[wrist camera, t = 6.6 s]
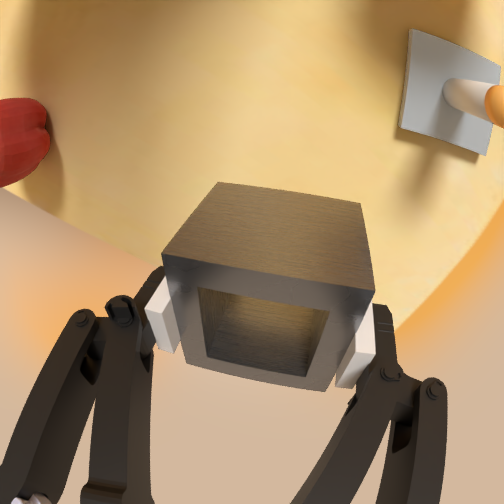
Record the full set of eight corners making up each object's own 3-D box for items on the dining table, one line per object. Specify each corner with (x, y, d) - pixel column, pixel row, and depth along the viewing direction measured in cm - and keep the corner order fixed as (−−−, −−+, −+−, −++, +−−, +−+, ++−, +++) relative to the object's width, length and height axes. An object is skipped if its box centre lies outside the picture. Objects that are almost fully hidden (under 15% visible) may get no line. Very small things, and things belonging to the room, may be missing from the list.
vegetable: (14, 150, 28) (-40, 181, 20) (19, 80, 21) (-44, 103, 13) (59, 177, 29) (-1, 219, 21) (68, 98, 22) (-7, 126, 14)
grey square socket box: (221, 285, 18) (186, 363, 14) (217, 181, 14) (161, 253, 9) (331, 305, 17) (324, 392, 13) (360, 203, 13) (375, 291, 8)
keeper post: (397, 125, 18) (435, 156, 12) (409, 30, 14) (454, 10, 7) (480, 152, 17) (535, 195, 10) (494, 65, 12) (559, 75, 6)
